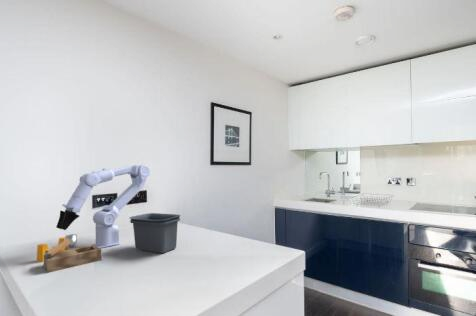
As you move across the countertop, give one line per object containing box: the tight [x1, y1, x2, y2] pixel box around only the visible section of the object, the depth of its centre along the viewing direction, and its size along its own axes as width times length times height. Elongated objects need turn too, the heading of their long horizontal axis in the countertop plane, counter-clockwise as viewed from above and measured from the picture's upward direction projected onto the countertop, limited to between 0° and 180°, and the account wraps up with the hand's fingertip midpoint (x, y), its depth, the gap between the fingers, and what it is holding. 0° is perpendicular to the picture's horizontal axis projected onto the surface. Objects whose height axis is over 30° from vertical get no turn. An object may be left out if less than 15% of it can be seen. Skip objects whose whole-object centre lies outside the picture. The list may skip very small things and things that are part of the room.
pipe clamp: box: [36, 236, 65, 263], centre depth 108 cm, size 12×4×6 cm, turn 169°
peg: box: [65, 233, 78, 250], centre depth 110 cm, size 4×4×8 cm
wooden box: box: [43, 244, 102, 273], centre depth 100 cm, size 17×10×6 cm, turn 133°
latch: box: [45, 239, 71, 257], centre depth 97 cm, size 8×4×1 cm
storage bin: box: [129, 212, 182, 254], centre depth 115 cm, size 21×16×14 cm
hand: (60, 228), depth 108 cm, fingers open, 7 cm apart
